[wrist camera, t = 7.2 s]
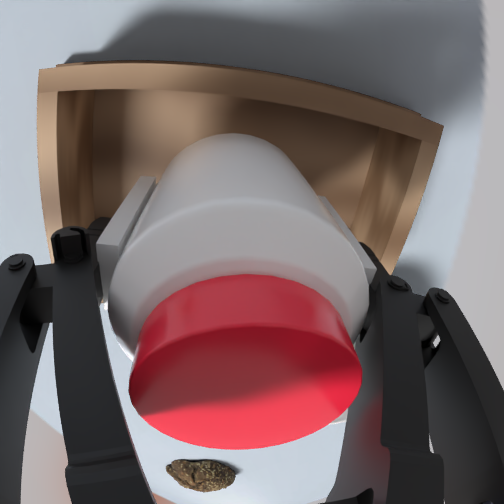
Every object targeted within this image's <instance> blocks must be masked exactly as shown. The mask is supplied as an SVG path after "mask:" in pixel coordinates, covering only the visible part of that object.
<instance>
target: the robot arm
mask: <svg viewBox="0 0 504 504" xmlns="http://www.w3.org/2000/svg"><path fill="white" fill-rule="evenodd" d="M155 186H156V177H151V176H141V177H140V178H139V179H138V181H137V182H136V184H135V185H134V186H133V188H132V189H131V191H130V192H129V194H128V195H127V196H126V198H125V199H124V201H123V202H122V204H121V205H120V207H119V208H118V210H117V211H116V213H115V214H114V216H113V217H112V218H109V217H99V218H98V219H96V220H94V221H93V222H92V223H91V224H90V225H89V227H88V228H87V229H85V228H84V227H80V226H68V227H64V228H61V229H59V230H57V231H55V232H54V233H53V234H52V236H51V238H50V239H51V245H52V250H53V256H54V263H52V264H46V265H36V266H35V264H34V260H33V258H32V256H30V255H28V254H14V255H12V256H10V257H9V258H7V259H5V260H4V261H3V263H2V264H1V265H0V504H20V500H21V498H20V497H21V476H22V463H23V451H24V443H25V435H26V428H27V421H28V415H29V409H30V403H31V398H32V392H33V387H34V383H35V378H36V373H37V369H38V365H39V361H40V357H41V353H42V349H43V345H44V341H45V337H46V334H47V330H48V327H49V323H52V322H53V349H54V365H55V377H56V387H57V396H58V404H59V411H60V418H61V424H62V430H63V436H64V441H65V446H66V451H67V456H68V466H67V467H66V469H65V477H66V482H67V487H68V491H69V495H70V498H71V502H72V504H157V503H156V501H155V499H154V496H153V494H152V491H151V489H150V487H149V484H148V482H147V479H146V477H145V474H144V472H143V469H142V466H141V464H140V461H139V458H138V455H137V453H136V450H135V447H134V444H133V441H132V438H131V435H130V432H129V429H128V426H127V422H126V419H125V416H124V413H123V409H122V406H121V402H120V399H119V395H118V391H117V387H116V384H115V380H114V376H113V372H112V367H111V363H110V359H109V354H108V350H107V345H106V340H105V335H104V330H103V325H102V319H101V314H100V308H99V306H100V304H101V301H102V299H103V303H104V309H105V310H108V294H109V285H110V282H111V279H112V276H113V273H114V271H115V268H116V265H117V263H118V260H119V258H120V256H121V254H122V251H123V249H124V247H125V245H126V243H127V241H128V239H129V237H130V235H131V233H132V231H133V228H134V226H135V224H136V222H137V220H138V218H139V217H140V215H141V213H142V211H143V209H144V207H145V205H146V203H147V201H148V199H149V197H150V195H151V193H152V192H153V190H154V188H155ZM319 198H320V199H321V201H322V202H323V203H324V205H325V206H326V208H327V209H328V211H329V212H330V213H331V215H332V216H333V218H334V219H335V221H336V222H337V224H338V225H339V226H340V228H341V229H342V231H343V232H344V234H345V235H346V237H347V238H348V240H349V241H350V243H351V245H352V246H353V248H354V249H355V251H356V253H357V254H358V256H359V257H360V259H361V261H362V263H363V266H364V269H365V273H366V276H367V280H368V284H369V307H368V312H367V316H366V320H365V323H364V326H363V328H362V330H361V332H360V334H359V336H358V338H357V340H356V343H355V351H356V354H357V356H358V359H359V361H360V364H361V367H362V384H361V387H360V390H359V393H358V395H357V397H356V398H355V399H354V401H353V402H352V404H351V405H350V406H349V407H348V414H347V420H346V427H345V433H344V439H343V445H342V451H341V456H340V462H339V467H338V472H337V477H336V481H335V484H334V486H333V488H332V490H331V492H330V493H329V495H328V497H327V499H326V502H325V503H320V504H444V500H445V504H504V390H503V388H502V386H501V384H500V382H499V380H498V378H497V376H496V374H495V372H494V369H493V368H492V365H491V364H490V362H489V360H488V358H487V356H486V354H485V352H484V350H483V348H482V346H481V345H480V343H479V341H478V339H477V337H476V335H475V334H474V332H473V330H472V328H471V327H470V325H469V323H468V321H467V320H466V318H465V317H464V315H463V313H462V311H461V310H460V308H459V306H458V305H457V303H456V301H455V300H454V298H453V297H452V296H451V295H450V294H449V293H448V292H447V291H445V290H443V289H439V288H430V289H429V291H428V293H427V294H426V296H425V297H424V296H421V295H417V294H414V293H412V290H411V287H410V286H409V285H408V283H407V282H405V281H404V280H402V279H401V278H399V277H396V276H393V275H389V273H388V272H387V271H386V269H385V268H384V266H383V265H382V264H381V262H379V259H378V258H377V257H376V256H375V254H374V252H373V251H372V250H371V248H369V247H368V246H367V245H366V244H364V243H363V242H358V241H357V239H356V238H355V237H354V235H353V234H352V232H351V231H350V230H349V228H348V227H347V225H346V224H345V223H344V221H343V220H342V219H341V217H340V216H339V215H338V213H337V212H336V210H335V209H334V208H333V206H332V205H331V204H330V202H329V201H328V200H327V199H326V197H325V196H319ZM437 335H439V337H440V342H439V344H438V345H437V346H436V348H435V346H434V344H433V342H434V340H435V339H436V337H437ZM429 435H430V439H431V442H432V446H433V450H434V453H432V452H431V451H430V447H429Z"/></svg>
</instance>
